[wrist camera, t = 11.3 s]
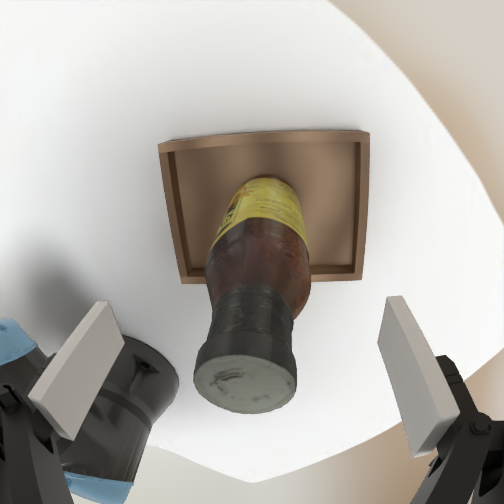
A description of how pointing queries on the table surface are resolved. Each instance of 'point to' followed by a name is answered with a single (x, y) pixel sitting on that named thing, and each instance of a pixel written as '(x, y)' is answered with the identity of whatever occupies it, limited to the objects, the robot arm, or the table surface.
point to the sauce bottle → (255, 299)
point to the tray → (281, 166)
